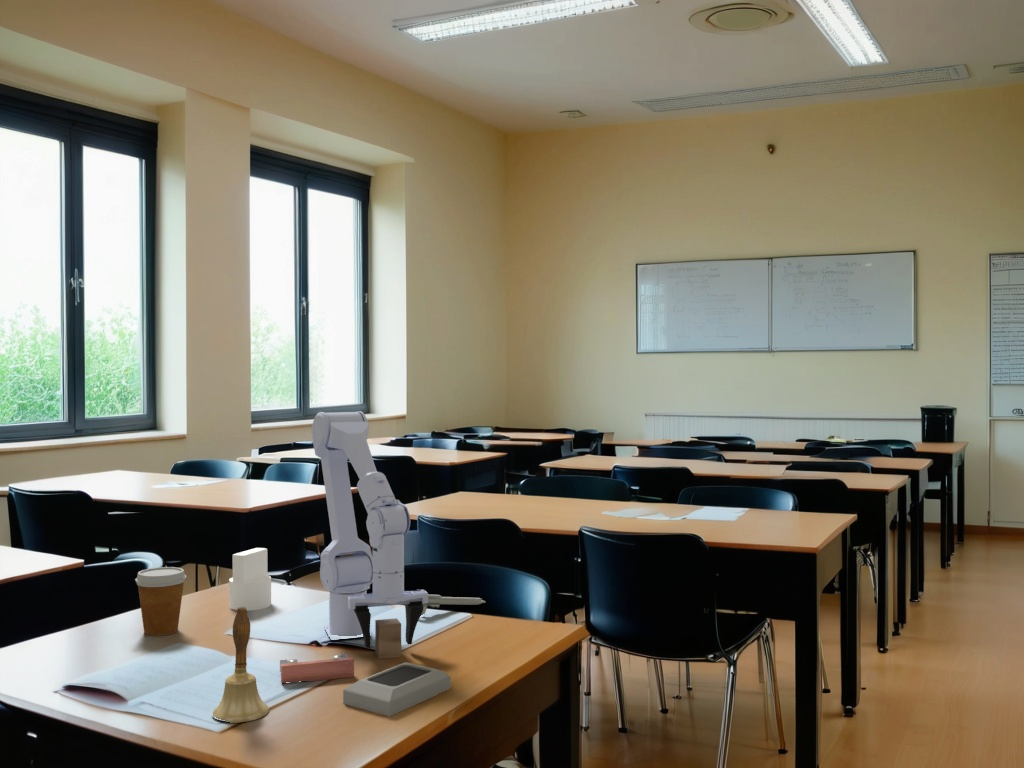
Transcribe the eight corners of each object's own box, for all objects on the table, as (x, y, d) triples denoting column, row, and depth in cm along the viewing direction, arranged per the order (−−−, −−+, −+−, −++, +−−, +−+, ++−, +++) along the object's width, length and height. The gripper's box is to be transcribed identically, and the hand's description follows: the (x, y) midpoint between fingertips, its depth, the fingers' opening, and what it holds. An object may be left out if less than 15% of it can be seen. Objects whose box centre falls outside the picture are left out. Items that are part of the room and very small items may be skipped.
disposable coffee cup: (124, 635, 181) (124, 574, 181) (159, 623, 190) (159, 565, 190) (162, 640, 178) (162, 578, 178) (196, 628, 187) (196, 568, 186)
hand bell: (219, 704, 144) (219, 602, 144) (273, 702, 144) (273, 601, 144) (205, 724, 135) (205, 616, 135) (263, 722, 136) (263, 615, 136)
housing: (278, 671, 159) (278, 654, 159) (347, 665, 163) (347, 648, 163) (281, 684, 153) (281, 666, 153) (354, 676, 157) (354, 659, 157)
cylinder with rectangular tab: (254, 612, 199) (254, 556, 199) (220, 608, 202) (220, 553, 202) (279, 602, 208) (279, 549, 207) (246, 599, 211) (246, 546, 211)
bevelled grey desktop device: (343, 682, 144) (406, 658, 157) (343, 706, 144) (406, 679, 157) (389, 694, 139) (450, 668, 151) (389, 719, 139) (450, 690, 151)
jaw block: (375, 652, 171) (375, 620, 171) (396, 650, 172) (396, 618, 172) (379, 658, 167) (379, 625, 167) (401, 656, 168) (401, 623, 168)
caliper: (414, 620, 194) (414, 590, 194) (411, 619, 194) (411, 590, 194) (485, 603, 208) (485, 575, 208) (482, 602, 209) (482, 575, 209)
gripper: (352, 578, 163) (352, 654, 163) (432, 572, 168) (432, 647, 168) (346, 570, 170) (346, 643, 170) (423, 565, 175) (423, 636, 175)
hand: (388, 644), depth 169 cm, fingers open, 7 cm apart
